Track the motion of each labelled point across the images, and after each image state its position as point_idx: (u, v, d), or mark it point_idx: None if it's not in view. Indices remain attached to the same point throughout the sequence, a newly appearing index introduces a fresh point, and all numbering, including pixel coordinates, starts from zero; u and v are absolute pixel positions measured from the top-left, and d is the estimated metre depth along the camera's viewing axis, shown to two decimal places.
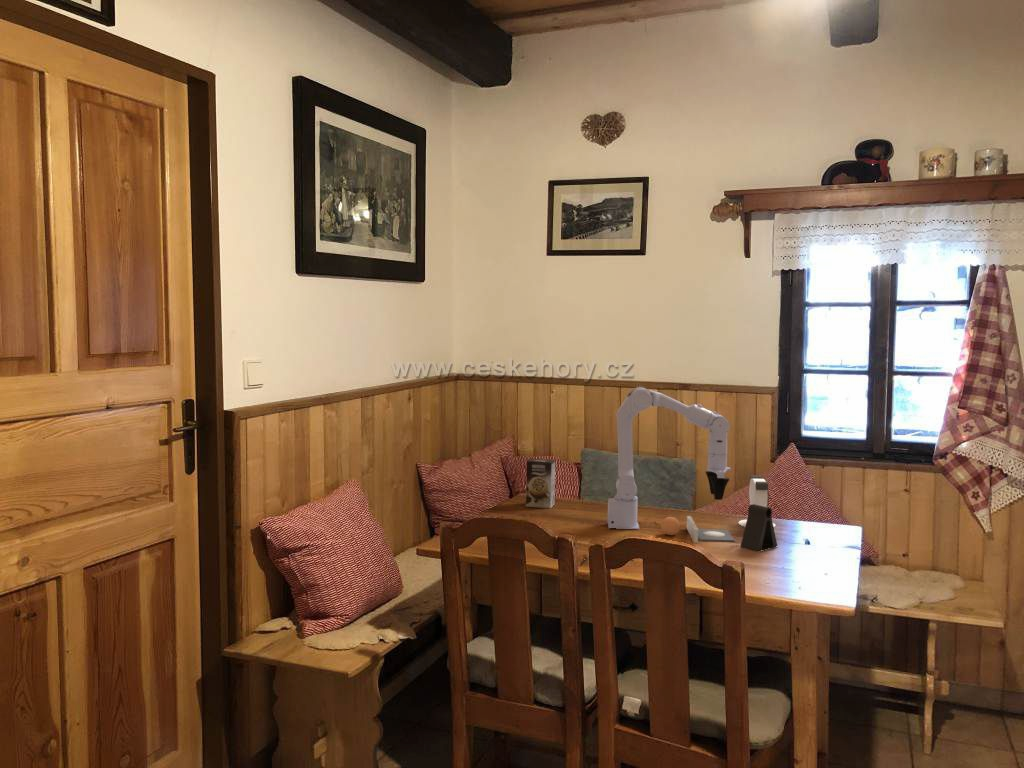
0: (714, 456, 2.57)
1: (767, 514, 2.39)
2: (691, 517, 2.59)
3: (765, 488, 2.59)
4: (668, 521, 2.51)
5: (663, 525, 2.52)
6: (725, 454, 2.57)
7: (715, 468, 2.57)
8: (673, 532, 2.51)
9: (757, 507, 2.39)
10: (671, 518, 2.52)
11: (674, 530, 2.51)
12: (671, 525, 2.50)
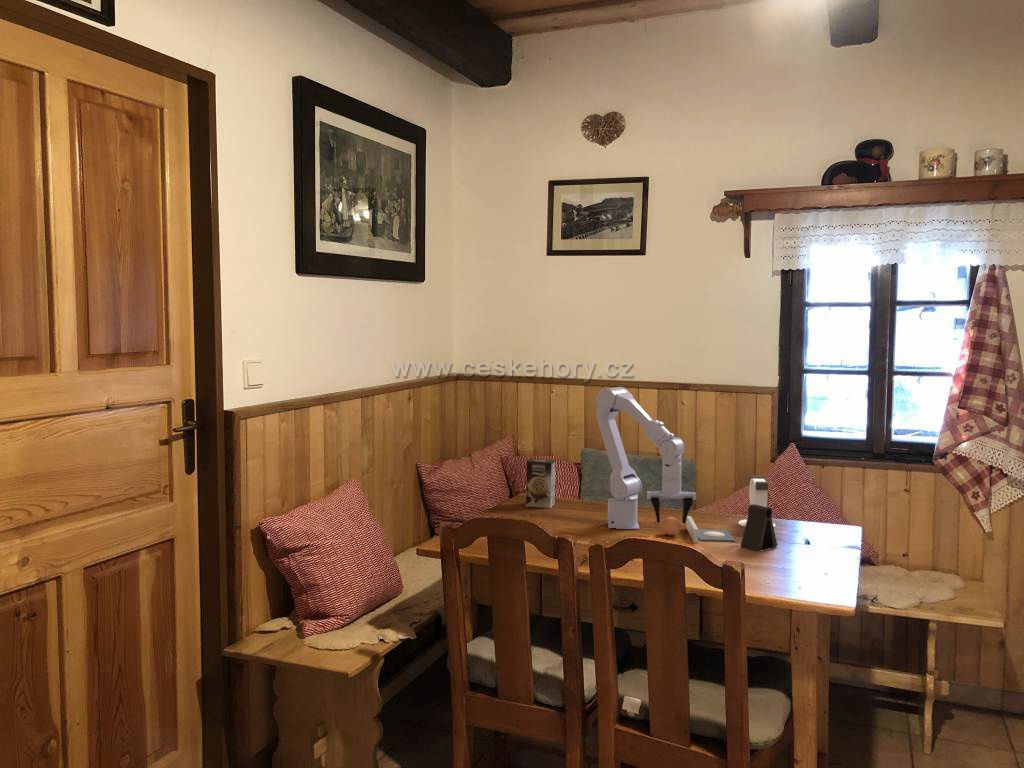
0: None
1: (767, 514, 2.39)
2: (691, 517, 2.59)
3: (765, 488, 2.59)
4: (668, 521, 2.51)
5: (663, 525, 2.52)
6: (666, 479, 2.50)
7: None
8: (673, 532, 2.51)
9: (757, 507, 2.39)
10: (671, 518, 2.52)
11: (674, 530, 2.51)
12: (671, 525, 2.50)
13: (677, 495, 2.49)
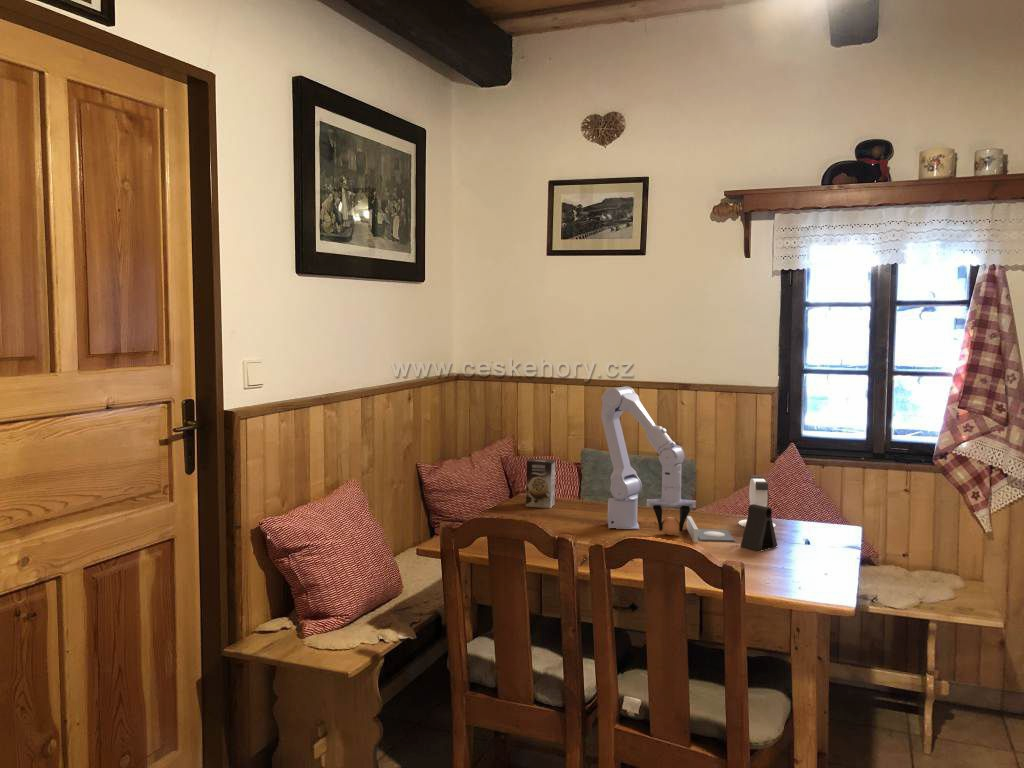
0: None
1: (767, 514, 2.39)
2: (691, 517, 2.59)
3: (765, 488, 2.59)
4: (668, 521, 2.51)
5: (663, 525, 2.52)
6: (666, 487, 2.50)
7: None
8: (673, 532, 2.51)
9: (757, 507, 2.39)
10: (671, 518, 2.52)
11: (674, 530, 2.51)
12: (671, 525, 2.50)
13: (677, 503, 2.50)
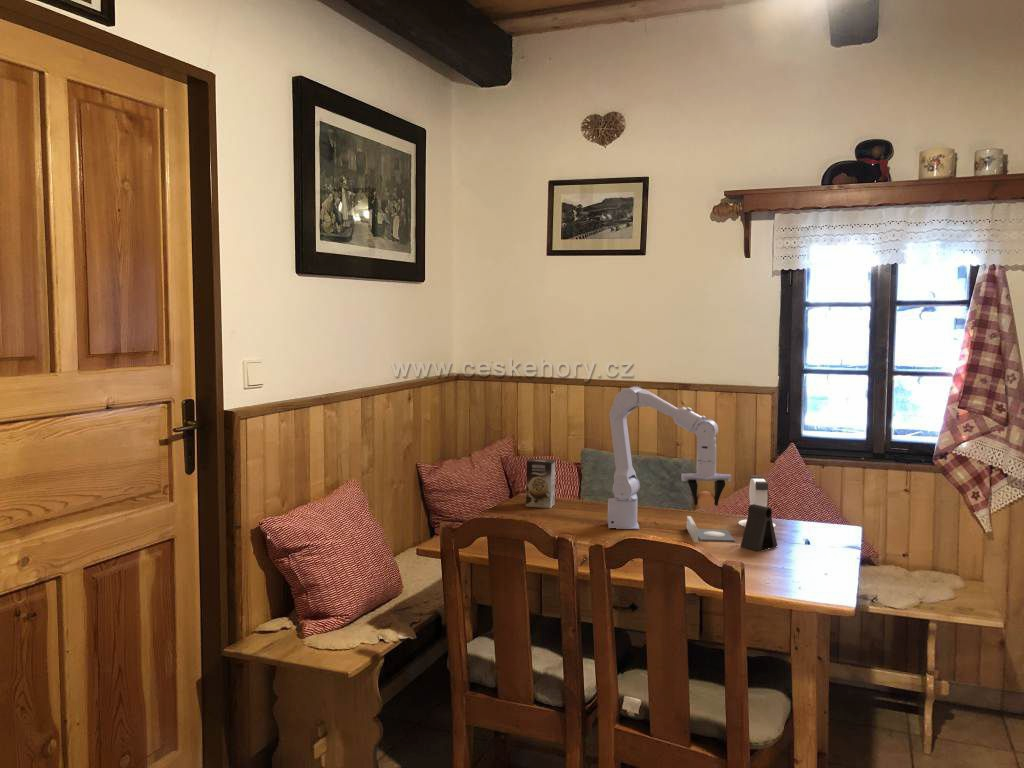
0: None
1: (767, 514, 2.39)
2: (691, 517, 2.59)
3: (765, 488, 2.59)
4: (703, 495, 2.50)
5: (698, 499, 2.50)
6: (701, 460, 2.49)
7: (696, 473, 2.52)
8: (708, 506, 2.49)
9: (757, 507, 2.39)
10: (706, 492, 2.50)
11: (710, 504, 2.49)
12: (706, 499, 2.49)
13: (712, 477, 2.48)
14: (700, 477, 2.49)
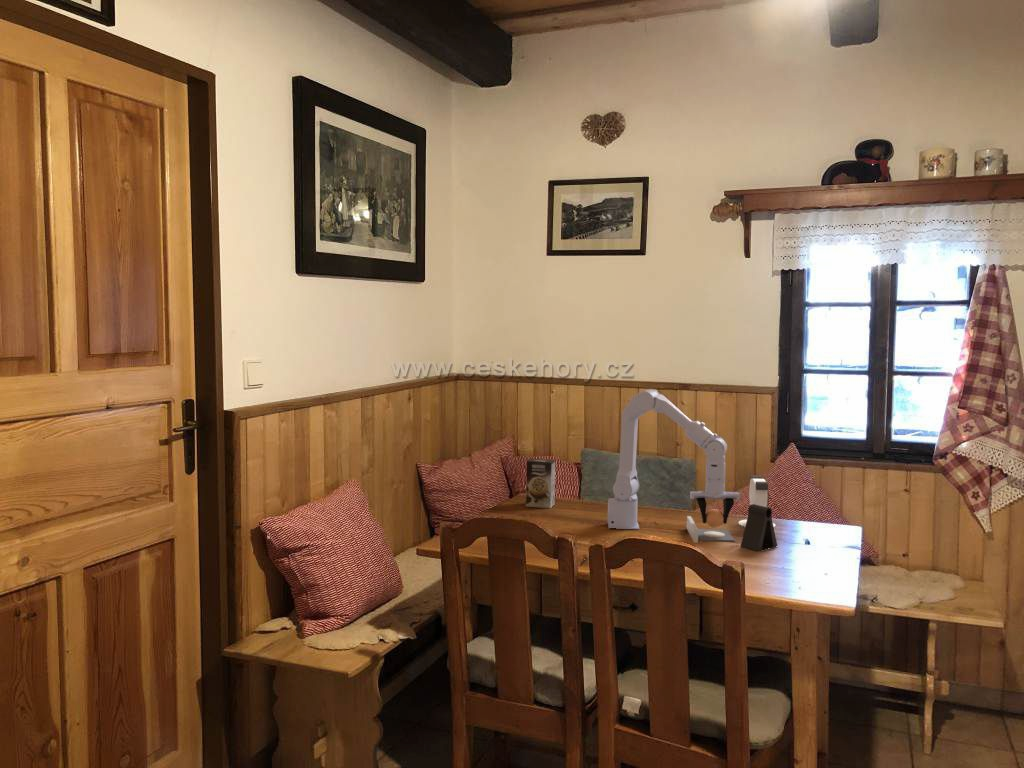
0: None
1: (767, 514, 2.39)
2: (691, 517, 2.59)
3: (765, 488, 2.59)
4: (712, 513, 2.50)
5: (707, 517, 2.51)
6: (710, 479, 2.49)
7: None
8: (717, 524, 2.50)
9: (757, 507, 2.39)
10: (715, 510, 2.51)
11: (719, 523, 2.49)
12: (715, 517, 2.49)
13: (721, 495, 2.48)
14: (709, 495, 2.49)
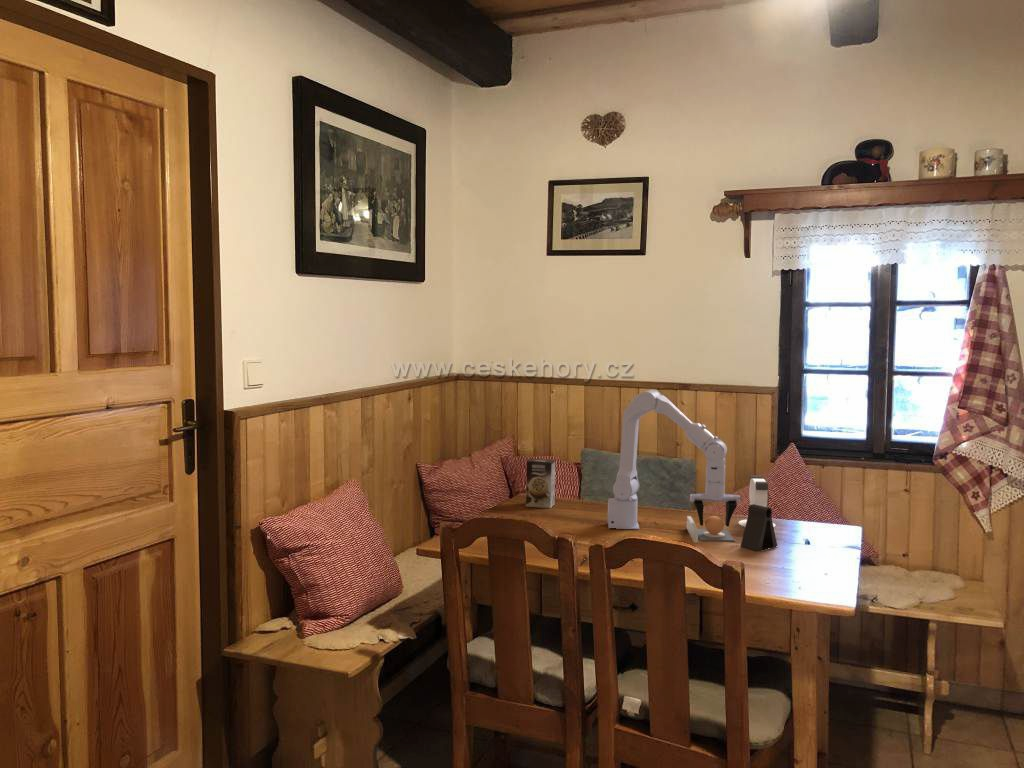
0: None
1: (767, 514, 2.39)
2: (691, 517, 2.59)
3: (765, 488, 2.59)
4: (712, 520, 2.50)
5: (707, 524, 2.51)
6: (710, 481, 2.49)
7: (705, 493, 2.52)
8: (717, 531, 2.50)
9: (757, 507, 2.39)
10: (715, 517, 2.51)
11: (718, 529, 2.50)
12: (715, 524, 2.49)
13: (721, 498, 2.48)
14: (709, 498, 2.49)
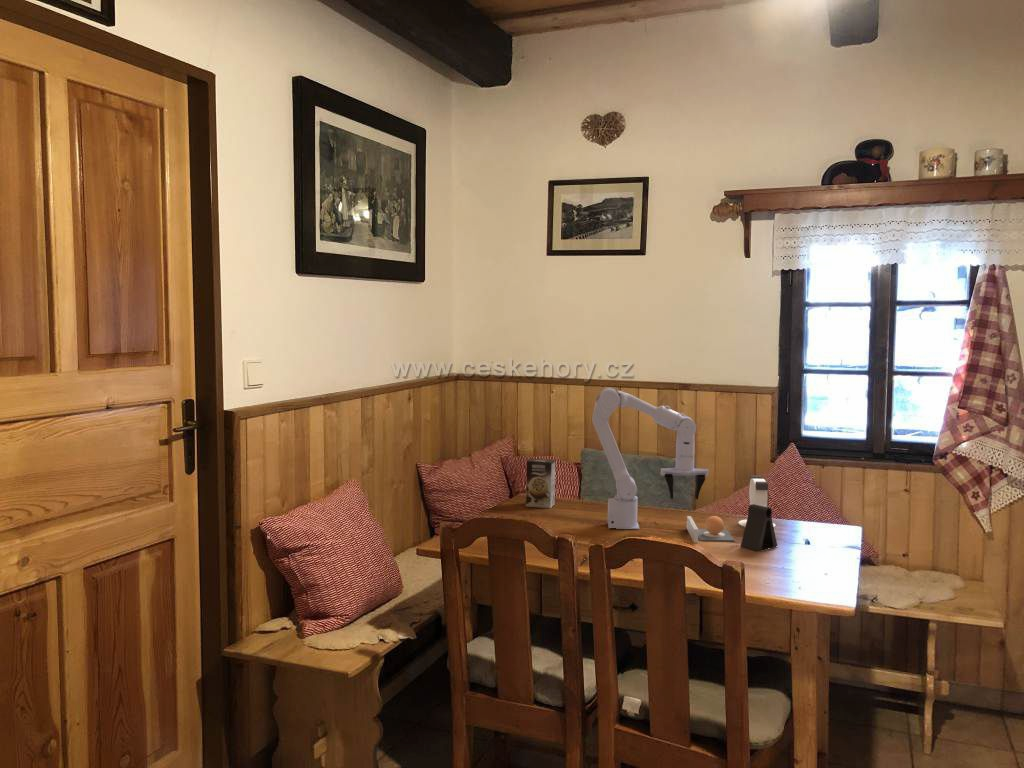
0: None
1: (767, 514, 2.39)
2: (691, 517, 2.59)
3: (765, 488, 2.59)
4: (712, 520, 2.50)
5: (707, 524, 2.51)
6: (679, 456, 2.58)
7: None
8: (717, 531, 2.50)
9: (757, 507, 2.39)
10: (715, 517, 2.51)
11: (718, 530, 2.50)
12: (715, 524, 2.49)
13: (690, 472, 2.57)
14: (679, 472, 2.58)
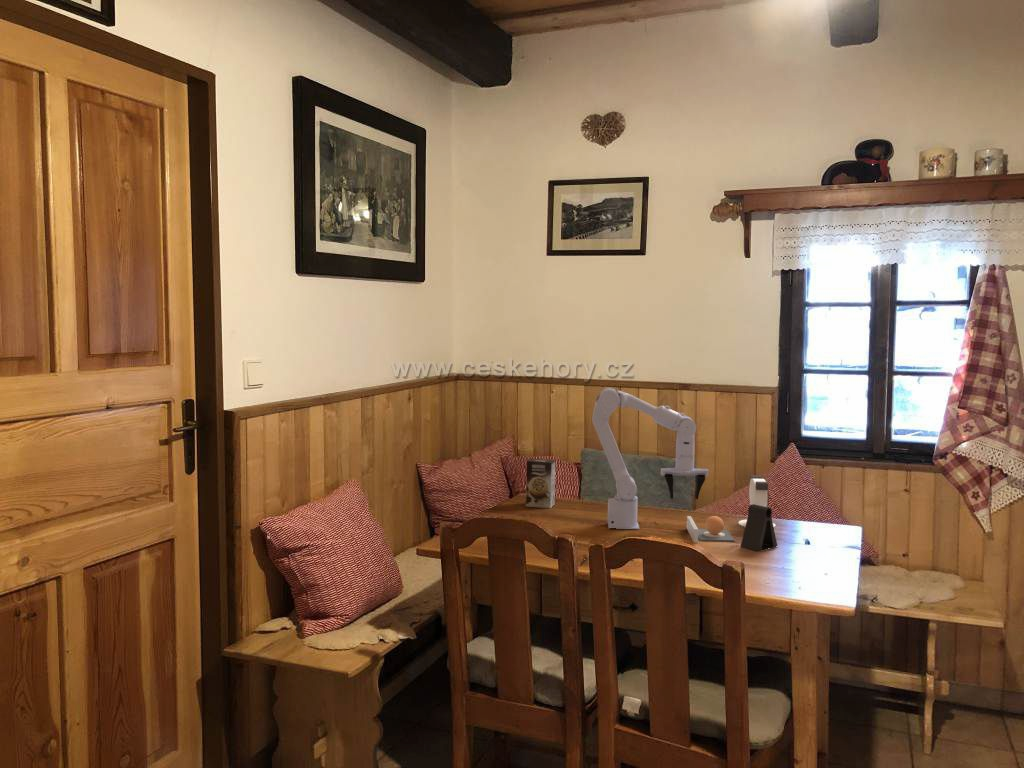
0: None
1: (767, 514, 2.39)
2: (691, 517, 2.59)
3: (765, 488, 2.59)
4: (712, 520, 2.50)
5: (707, 524, 2.51)
6: (679, 456, 2.58)
7: None
8: (717, 531, 2.50)
9: (757, 507, 2.39)
10: (715, 517, 2.51)
11: (719, 530, 2.50)
12: (715, 524, 2.49)
13: (690, 471, 2.58)
14: (678, 471, 2.58)
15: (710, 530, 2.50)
